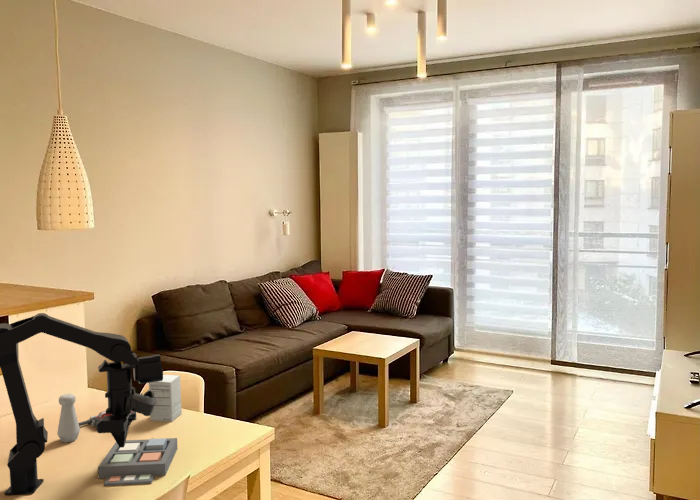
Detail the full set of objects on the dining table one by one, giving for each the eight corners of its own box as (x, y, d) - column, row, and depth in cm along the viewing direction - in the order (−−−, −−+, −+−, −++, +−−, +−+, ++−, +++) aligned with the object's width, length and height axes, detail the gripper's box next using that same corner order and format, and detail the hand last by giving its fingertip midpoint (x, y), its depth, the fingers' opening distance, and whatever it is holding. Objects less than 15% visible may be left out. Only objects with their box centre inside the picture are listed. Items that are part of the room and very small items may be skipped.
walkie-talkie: (126, 413, 193) (63, 432, 178) (125, 399, 193) (63, 417, 177) (141, 419, 187) (78, 439, 172) (140, 405, 187) (77, 424, 172)
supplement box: (160, 412, 192) (159, 374, 191) (182, 413, 191) (181, 374, 190) (149, 421, 185) (147, 380, 184) (172, 422, 184) (170, 381, 183)
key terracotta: (157, 467, 150) (157, 459, 150) (139, 468, 150) (139, 460, 150) (161, 459, 155) (161, 452, 154) (143, 460, 154) (143, 453, 154)
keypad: (162, 482, 144) (161, 470, 144) (93, 486, 143) (92, 474, 142) (177, 448, 164) (177, 438, 164) (117, 451, 163) (116, 440, 162)
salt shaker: (71, 444, 167) (69, 399, 166) (53, 443, 169) (50, 398, 167) (84, 436, 173) (82, 392, 172) (66, 435, 174) (64, 391, 173)
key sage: (129, 468, 150) (128, 461, 149) (110, 469, 149) (110, 462, 149) (133, 461, 154) (133, 453, 154) (115, 462, 153) (115, 454, 153)
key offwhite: (136, 456, 156) (135, 449, 156) (118, 457, 156) (118, 450, 156) (140, 449, 161) (140, 442, 161) (123, 450, 160) (123, 443, 160)
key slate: (163, 452, 157) (163, 444, 157) (146, 453, 157) (145, 445, 156) (166, 445, 161) (166, 438, 161) (150, 446, 161) (149, 438, 161)
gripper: (143, 397, 141) (146, 461, 143) (160, 374, 160) (162, 431, 161) (94, 399, 140) (97, 463, 142) (117, 375, 159) (119, 433, 160)
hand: (122, 446), depth 151 cm, fingers closed
